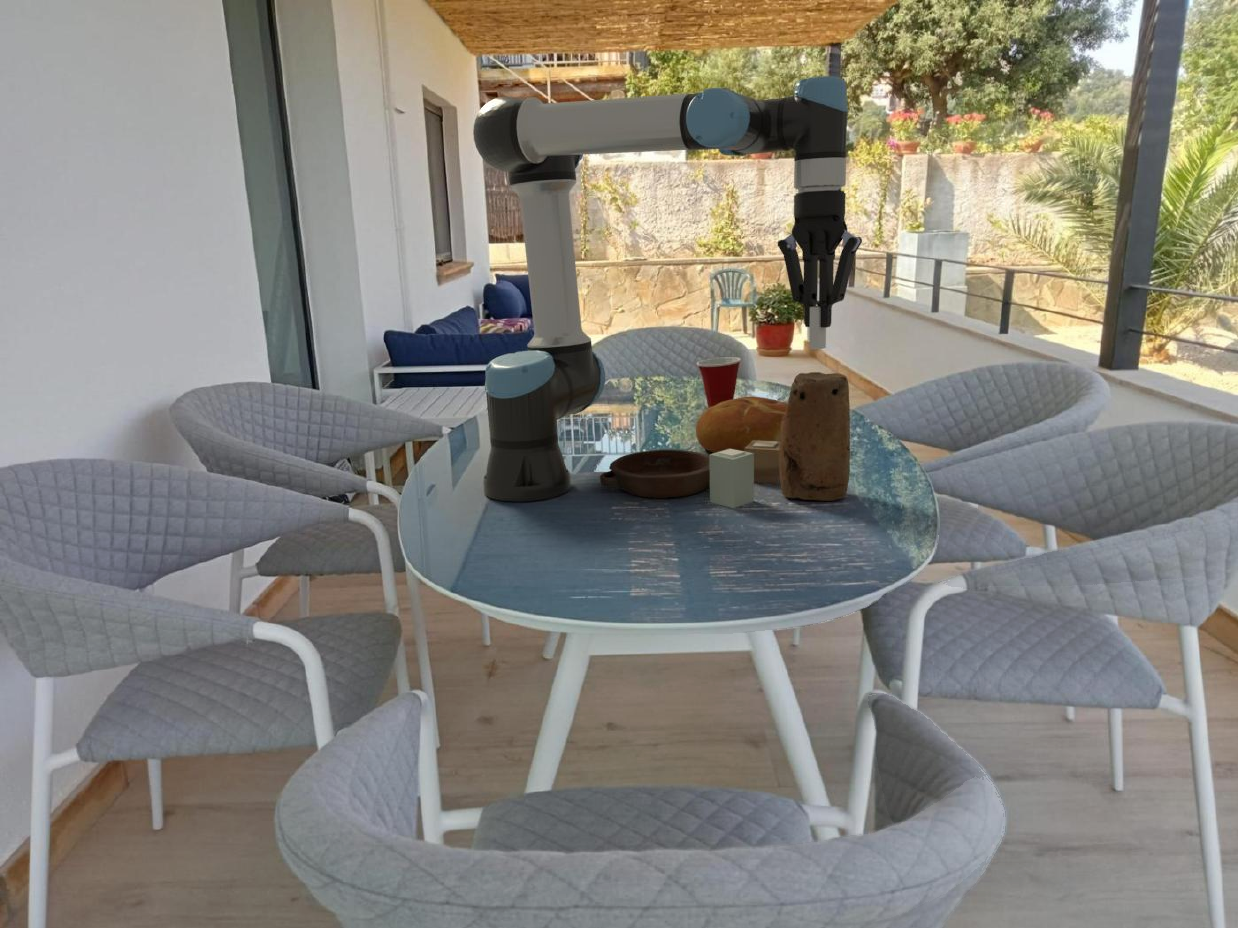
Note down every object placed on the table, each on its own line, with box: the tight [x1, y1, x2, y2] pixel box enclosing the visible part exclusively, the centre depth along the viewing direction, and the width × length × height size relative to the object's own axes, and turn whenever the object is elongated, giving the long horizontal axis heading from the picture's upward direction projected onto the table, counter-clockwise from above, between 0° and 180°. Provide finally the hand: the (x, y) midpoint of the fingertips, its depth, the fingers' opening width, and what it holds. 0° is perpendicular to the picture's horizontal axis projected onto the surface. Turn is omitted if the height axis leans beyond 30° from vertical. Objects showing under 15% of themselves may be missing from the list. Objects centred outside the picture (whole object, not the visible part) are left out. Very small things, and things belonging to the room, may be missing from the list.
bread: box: [695, 396, 788, 454], centre depth 174 cm, size 23×23×10 cm
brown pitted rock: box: [779, 371, 851, 502], centre depth 140 cm, size 11×8×20 cm
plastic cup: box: [696, 356, 742, 409], centre depth 213 cm, size 11×11×12 cm
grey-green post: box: [708, 449, 755, 509], centre depth 141 cm, size 5×5×8 cm
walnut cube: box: [744, 440, 780, 484], centre depth 153 cm, size 6×6×6 cm
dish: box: [599, 448, 710, 499], centre depth 150 cm, size 18×22×5 cm
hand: (817, 348), depth 136 cm, fingers closed
